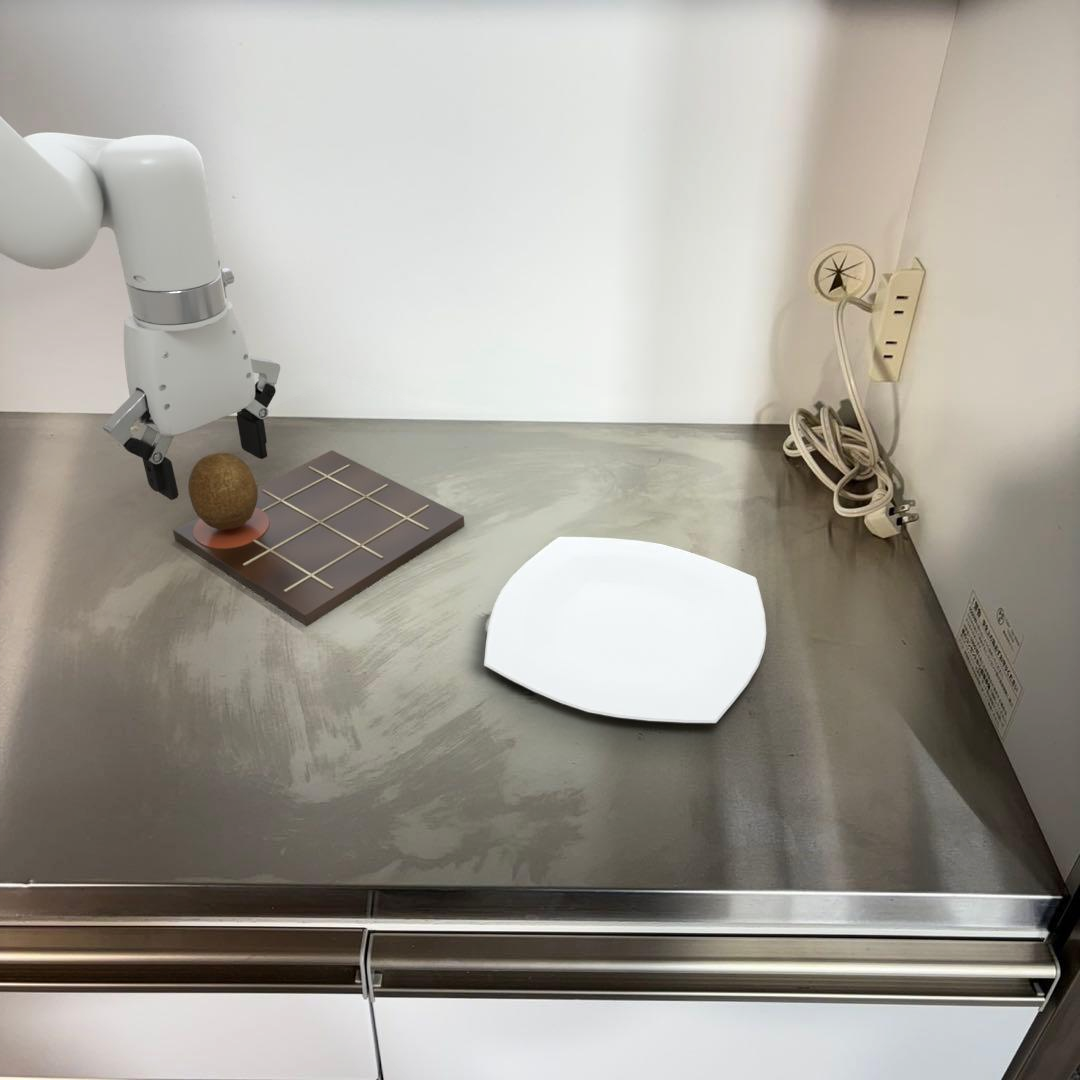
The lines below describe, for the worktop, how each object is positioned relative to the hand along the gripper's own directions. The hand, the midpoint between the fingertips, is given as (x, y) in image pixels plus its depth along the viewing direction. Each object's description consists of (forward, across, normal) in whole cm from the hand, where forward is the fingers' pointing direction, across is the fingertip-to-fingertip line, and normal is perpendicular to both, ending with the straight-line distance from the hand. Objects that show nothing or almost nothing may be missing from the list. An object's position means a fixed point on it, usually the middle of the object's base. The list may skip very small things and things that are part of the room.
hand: (211, 472), depth 90 cm
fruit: (+6, -1, 0) cm, 6 cm away
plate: (+7, -14, +38) cm, 41 cm away
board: (+7, -7, +6) cm, 12 cm away
